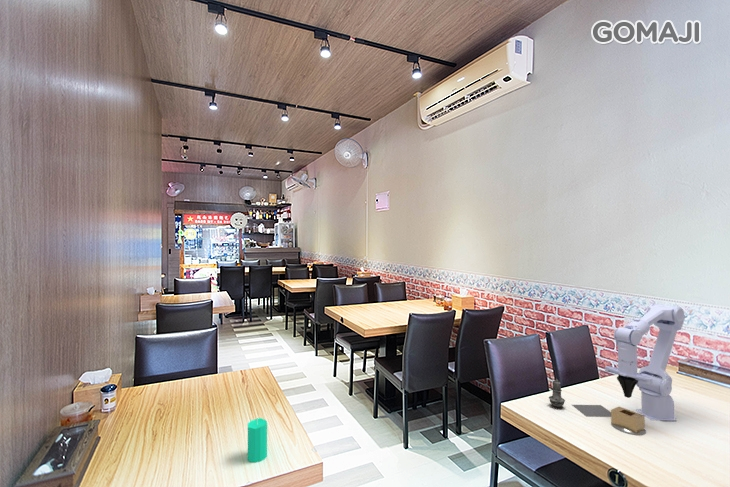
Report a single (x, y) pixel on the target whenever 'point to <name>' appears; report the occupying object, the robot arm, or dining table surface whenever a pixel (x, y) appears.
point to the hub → (628, 430)
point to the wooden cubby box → (628, 419)
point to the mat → (593, 410)
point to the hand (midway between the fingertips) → (627, 396)
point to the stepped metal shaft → (556, 396)
